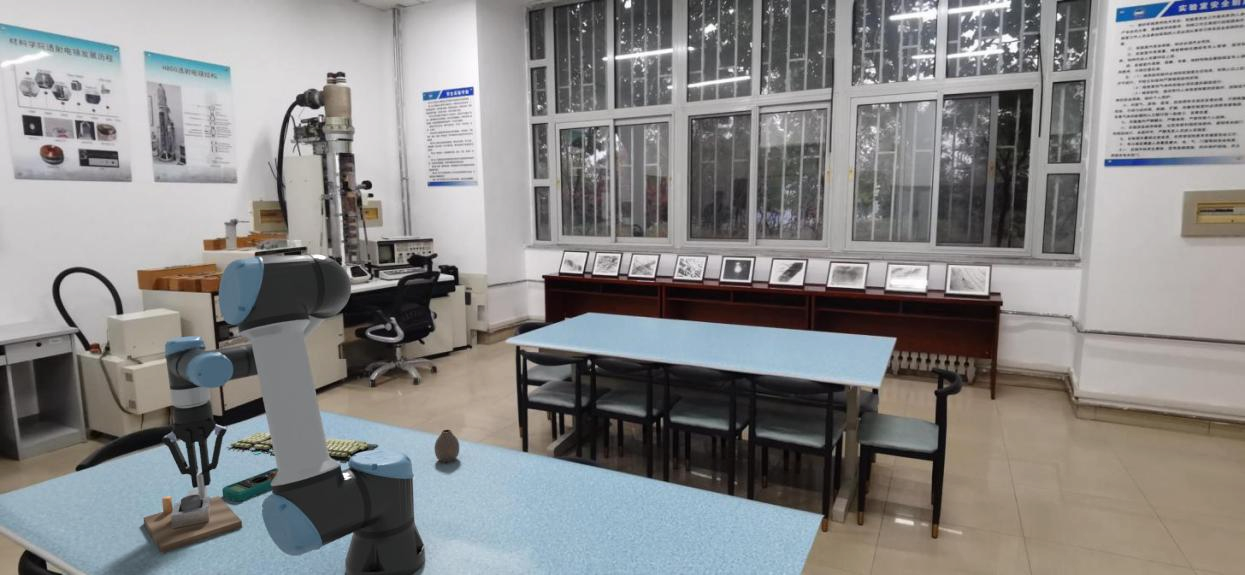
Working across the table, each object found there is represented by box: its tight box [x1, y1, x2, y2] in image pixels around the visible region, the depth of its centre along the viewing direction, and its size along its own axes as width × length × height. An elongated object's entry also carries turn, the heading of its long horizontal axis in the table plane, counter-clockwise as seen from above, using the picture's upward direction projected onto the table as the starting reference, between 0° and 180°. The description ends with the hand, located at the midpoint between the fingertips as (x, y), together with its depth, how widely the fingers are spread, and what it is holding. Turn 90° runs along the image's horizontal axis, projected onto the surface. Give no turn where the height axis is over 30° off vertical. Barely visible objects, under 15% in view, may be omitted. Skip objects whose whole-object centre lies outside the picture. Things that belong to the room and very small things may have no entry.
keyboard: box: [226, 432, 379, 464], centre depth 189 cm, size 45×15×2 cm, turn 76°
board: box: [143, 495, 243, 554], centre depth 143 cm, size 18×15×6 cm
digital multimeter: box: [221, 467, 278, 503], centre depth 162 cm, size 7×15×3 cm, turn 151°
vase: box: [433, 428, 460, 463], centre depth 180 cm, size 7×7×9 cm
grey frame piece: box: [171, 488, 211, 529], centre depth 145 cm, size 13×7×3 cm, turn 30°
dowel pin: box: [161, 495, 174, 514], centre depth 146 cm, size 2×2×4 cm
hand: (203, 498), depth 149 cm, fingers closed
